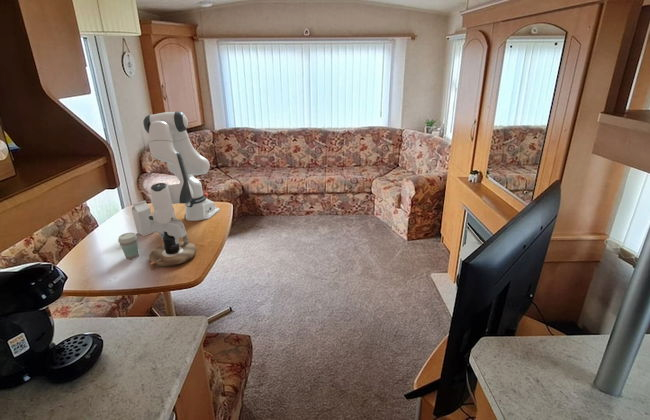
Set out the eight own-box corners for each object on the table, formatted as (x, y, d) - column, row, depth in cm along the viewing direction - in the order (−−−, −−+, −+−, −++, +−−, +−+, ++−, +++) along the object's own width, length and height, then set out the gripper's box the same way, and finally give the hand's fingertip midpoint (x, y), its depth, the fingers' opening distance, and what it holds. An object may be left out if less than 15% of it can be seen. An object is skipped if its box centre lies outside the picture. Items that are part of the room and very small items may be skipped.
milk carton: (155, 231, 211) (148, 201, 204) (143, 236, 206) (136, 205, 198) (149, 228, 215) (142, 198, 208) (137, 233, 210) (129, 202, 202)
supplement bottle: (175, 255, 179) (170, 233, 175) (162, 254, 180) (158, 232, 176) (182, 248, 186) (178, 227, 181) (170, 247, 187) (166, 226, 182)
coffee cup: (133, 251, 190) (127, 230, 186) (145, 254, 187) (140, 233, 183) (119, 259, 183) (113, 238, 178) (131, 262, 180) (125, 241, 175)
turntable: (173, 241, 197) (170, 228, 194) (205, 248, 189) (203, 235, 186) (139, 260, 179) (136, 247, 176) (173, 270, 170) (170, 256, 167)
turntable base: (173, 245, 195) (172, 239, 194) (199, 251, 188) (198, 245, 187) (138, 266, 176) (137, 260, 175) (166, 274, 170) (165, 267, 168)
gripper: (186, 217, 174) (191, 242, 180) (155, 211, 182) (160, 235, 187) (176, 222, 169) (181, 248, 174) (144, 215, 177) (150, 240, 182)
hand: (170, 241), depth 181 cm, fingers closed on supplement bottle, 6 cm apart
